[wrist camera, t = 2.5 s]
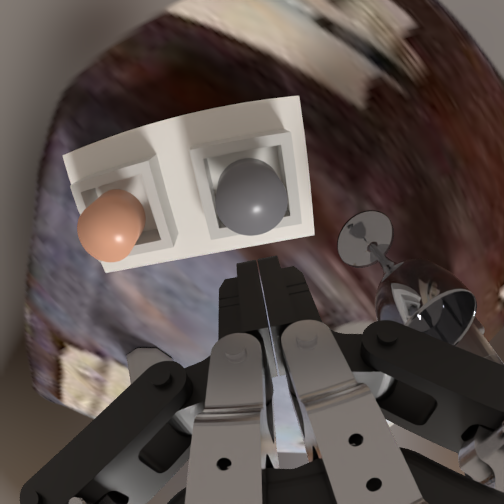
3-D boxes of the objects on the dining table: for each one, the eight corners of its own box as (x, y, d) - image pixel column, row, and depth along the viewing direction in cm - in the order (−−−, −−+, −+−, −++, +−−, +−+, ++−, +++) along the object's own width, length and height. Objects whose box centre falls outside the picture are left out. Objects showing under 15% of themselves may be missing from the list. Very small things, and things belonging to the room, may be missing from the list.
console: (289, 96, 23) (307, 95, 17) (304, 217, 29) (322, 248, 23) (82, 147, 23) (47, 162, 18) (118, 252, 29) (97, 287, 23)
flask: (118, 351, 37) (101, 407, 28) (159, 341, 36) (146, 403, 27) (146, 379, 40) (135, 433, 32) (184, 372, 39) (179, 430, 31)
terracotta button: (135, 182, 19) (122, 196, 17) (152, 236, 21) (143, 256, 19) (86, 197, 19) (68, 212, 17) (105, 247, 21) (91, 266, 19)
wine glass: (336, 277, 33) (387, 380, 20) (330, 215, 29) (400, 311, 16) (395, 261, 32) (462, 348, 19) (397, 201, 28) (487, 277, 15)
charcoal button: (275, 153, 19) (283, 162, 16) (283, 211, 21) (291, 229, 18) (211, 164, 19) (208, 175, 16) (224, 222, 21) (223, 241, 19)
